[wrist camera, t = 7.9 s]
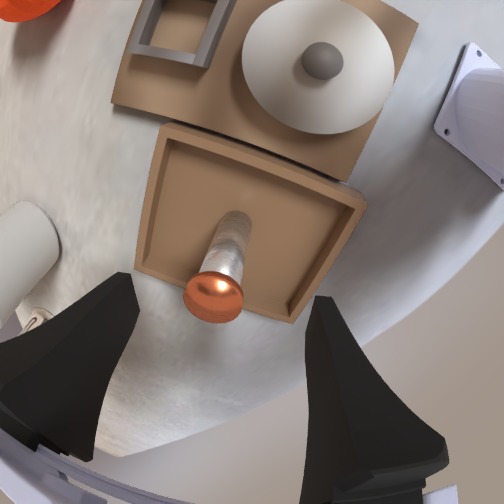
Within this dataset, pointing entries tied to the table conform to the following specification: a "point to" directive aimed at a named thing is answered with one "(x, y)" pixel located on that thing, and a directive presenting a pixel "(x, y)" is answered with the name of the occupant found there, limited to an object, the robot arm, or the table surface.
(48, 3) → the clementine
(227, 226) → the lock pin
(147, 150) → the table surface
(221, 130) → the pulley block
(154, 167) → the tray
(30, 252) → the can
